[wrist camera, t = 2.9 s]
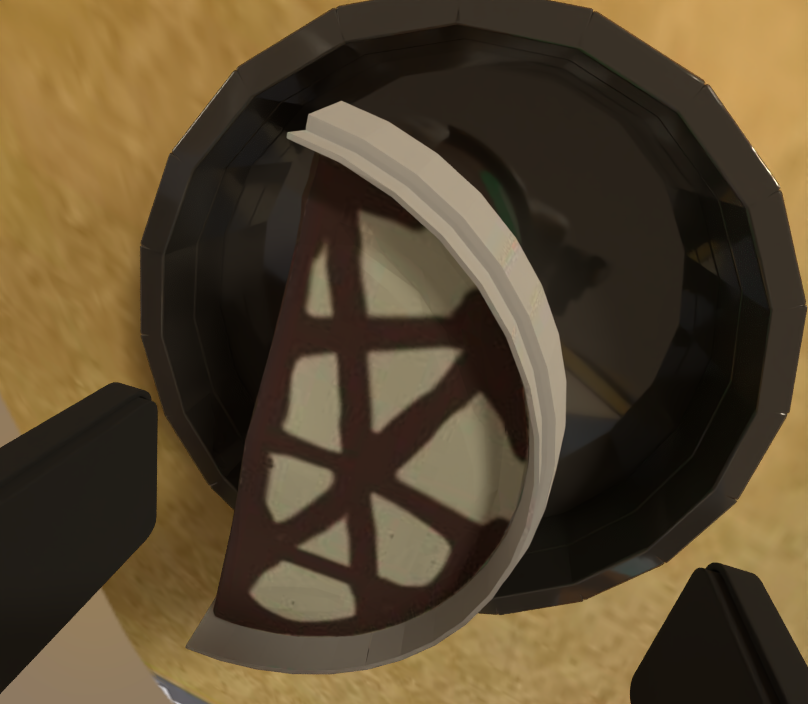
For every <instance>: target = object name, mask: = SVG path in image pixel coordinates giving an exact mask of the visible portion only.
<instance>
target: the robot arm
mask: <svg viewBox="0 0 808 704" xmlns="http://www.w3.org/2000/svg"><path fill="white" fill-rule="evenodd" d="M157 421H158V410H157V405H156V403H154V402H153V401H151V396H150V394H149V393H148V392H147V391H145V390H142V389H138V388H135V387H132V386H128V385H125V384H122V383H118V382H113V383H111V384H108V385H107V386H105V387H103V388H101V389H100V390H98V391H96V392H95V393H93V394H91V395H89V396H88V397H86V398H84V399H83V400H81V401H79V402H78V403H76V404H74V405H72V406H71V407H69V408H67V409H66V410H64V411H62V412H60V413H59V414H57V415H55V416H54V417H52V418H50V419H48V420H47V421H45V422H43V423H42V424H40V425H38V426H37V427H35V428H33V429H31V430H30V431H28V432H26V433H25V434H23V435H21V436H19V437H18V438H16V439H14V440H13V441H11V442H9V443H7V444H6V445H4V446H2V447H1V448H0V694H1V692H2V691H3V690H4V689H5V688H6V687H7V686H8V685H9V684H10V683H11V682H12V681H13V680H14V679H15V678H16V677H17V675H19V673H20V672H21V671H22V670H23V669H24V668H25V667H26V666H27V665H28V664H29V663H30V662H31V661H32V660H33V659H34V658H35V657H36V656H37V655H38V653H39V652H40V651H41V650H42V649H43V648H44V647H45V646H46V645H47V644H48V643H49V642H50V641H51V640H52V639H53V638H54V637H55V635H56V634H57V633H58V632H59V631H60V630H61V629H62V628H63V627H64V626H65V625H66V624H67V623H68V622H69V621H70V620H71V619H72V617H73V616H74V615H75V614H76V613H77V612H78V611H79V610H80V609H81V608H82V607H83V606H84V605H85V604H86V603H87V602H88V601H89V600H90V599H91V597H92V596H93V595H94V594H95V593H96V592H97V591H98V590H99V589H100V588H101V587H102V586H103V585H104V584H105V583H106V582H107V581H108V580H109V578H110V577H111V576H112V575H113V574H114V573H115V572H116V571H117V570H118V569H119V568H120V567H121V566H122V565H123V564H124V563H125V562H126V561H127V559H128V558H129V557H130V556H131V555H132V554H133V553H134V552H135V551H136V550H137V549H138V548H139V547H140V546H141V545H142V544H143V543H144V542H145V540H146V539H147V538H148V537H149V535H150V534H151V532H152V530H153V528H154V526H155V522H156V509H157ZM630 701H631V704H808V667H807V665H806V663H805V661H804V659H803V657H802V655H801V654H800V652H799V650H798V648H797V646H796V644H795V643H794V641H793V639H792V637H791V635H790V633H789V631H788V630H787V628H786V626H785V624H784V622H783V620H782V619H781V617H780V615H779V613H778V611H777V609H776V607H775V606H774V604H773V602H772V600H771V598H770V596H769V595H768V593H767V591H766V589H765V587H764V585H763V583H762V582H761V580H760V579H759V578H758V576H756V575H755V574H753V573H750V572H747V571H743V570H740V569H737V568H733V567H730V566H727V565H723V564H720V563H711V564H710V565H708V566H707V568H706V569H704V568H698V569H696V570H695V571H694V572H693V574H692V575H691V577H690V579H689V581H688V582H687V584H686V586H685V588H684V589H683V591H682V593H681V594H680V596H679V598H678V600H677V601H676V603H675V605H674V606H673V608H672V610H671V612H670V613H669V615H668V617H667V619H666V620H665V622H664V624H663V625H662V627H661V629H660V631H659V632H658V634H657V636H656V638H655V639H654V641H653V643H652V644H651V646H650V648H649V650H648V651H647V653H646V655H645V656H644V658H643V660H642V662H641V663H640V665H639V667H638V669H637V670H636V672H635V674H634V676H633V678H632V682H631V687H630Z"/></svg>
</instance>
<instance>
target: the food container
mask: <svg viewBox="0 0 808 704" xmlns="http://www.w3.org/2000/svg"><path fill="white" fill-rule="evenodd" d="M287 139H290V140H292V141H294V142H296V143H298V144H300V145H303V146H305V147H307V148H309V149H311V150H314V151H315V153H314V156H313V159H312V163H311V167H310V172H309V177H308V181H307V183H306V186H305V189H304V192H303V195H302V200H301V217H300V222H299V228H298V233H297V239H296V244H295V249H294V253H293V257H292V261H291V266H290V270H289V274H288V278H287V283H286V287H285V291H284V295H283V300H282V304H281V308H280V312H279V316H278V320H277V324H276V328H275V332H274V336H273V340H272V344H271V348H270V352H269V356H268V360H267V363H266V367H265V371H264V374H263V378H262V381H261V385H260V388H259V392H258V396H257V399H256V403H255V407H254V410H253V414H252V418H251V421H250V425H249V429H248V432H247V436H246V440H245V445H244V452H243V458H242V464H241V471H240V478H239V486H238V493H237V499H236V504H235V510H234V516H233V522H232V527H231V531H230V536H229V541H228V545H227V550H226V554H225V559H224V563H223V568H222V572H221V577H220V582H219V586H218V591H217V595H216V598H215V599H214V601H213V602H212V604H211V606H210V607H209V609H208V611H207V612H206V614H205V615H204V617H203V619H202V620H201V622H200V624H199V625H198V627H197V628H196V630H195V632H194V633H193V635H192V637H191V638H190V640H189V641H188V643H187V645H186V648H187V649H189V650H192V651H195V652H198V653H200V654H203V655H206V656H209V657H211V658H214V659H217V660H220V661H224V662H228V663H232V664H236V665H240V666H245V667H249V668H253V669H258V670H266V671H274V672H282V673H289V674H336V673H344V672H352V671H361V670H367V669H371V668H375V667H379V666H382V665H386V664H390V663H393V662H397V661H401V660H403V659H406V658H408V657H410V656H412V655H415V654H417V653H419V652H421V651H424V650H426V649H428V648H430V647H432V646H435V645H436V644H438V643H439V642H441V641H442V640H444V639H445V638H447V637H448V636H450V635H451V634H453V633H454V632H456V631H457V630H459V629H460V628H462V627H463V626H465V625H466V624H467V623H468V622H469V621H470V620H471V619H472V618H473V617H474V616H475V615H476V614H477V613H478V612H479V611H480V610H481V609H482V608H483V607H484V606H485V605H486V604H487V603H488V602H489V601H490V600H491V599H492V598H493V597H494V595H495V594H496V593H497V591H498V590H499V588H500V587H501V585H502V584H503V582H504V581H505V580H506V579H507V578H508V576H509V575H510V574H511V572H512V571H513V569H514V568H515V566H516V565H517V563H518V562H519V561H520V559H521V558H522V556H523V555H524V553H525V552H526V551H527V549H528V548H529V546H530V543H531V541H532V539H533V536H534V534H535V532H536V529H537V527H538V525H539V523H540V520H541V518H542V516H543V513H544V511H545V509H546V505H547V501H548V498H549V494H550V490H551V487H552V483H553V479H554V476H555V472H556V468H557V464H558V459H559V454H560V450H561V445H562V440H563V436H564V431H565V423H566V376H565V369H564V363H563V357H562V351H561V344H560V338H559V333H558V330H557V327H556V324H555V321H554V319H553V316H552V313H551V310H550V307H549V304H548V301H547V298H546V296H545V293H544V290H543V287H542V284H541V283H540V281H539V279H538V277H537V275H536V274H535V272H534V270H533V268H532V266H531V264H530V263H529V261H528V259H527V257H526V255H525V254H524V252H523V250H522V248H521V246H520V244H519V243H518V241H517V239H516V237H515V236H514V235H513V234H512V232H511V231H510V230H509V228H508V227H507V226H506V225H505V223H504V222H503V221H502V220H501V218H500V217H499V216H498V214H497V213H496V212H495V211H494V209H493V208H492V207H491V206H490V204H489V203H488V202H487V200H486V199H485V198H484V197H483V195H482V194H481V193H480V192H479V191H478V190H477V189H476V188H475V187H473V186H472V185H471V184H470V183H469V182H468V181H467V180H466V179H465V178H464V177H463V176H461V175H460V174H459V173H458V172H457V171H456V170H455V169H454V168H453V167H452V166H451V165H449V164H448V163H447V162H446V161H445V160H444V159H443V158H442V157H441V156H440V155H439V154H437V153H436V152H434V151H433V150H431V149H430V148H428V147H427V146H425V145H423V144H422V143H420V142H419V141H417V140H416V139H414V138H413V137H411V136H410V135H408V134H407V133H405V132H404V131H402V130H401V129H399V128H398V127H396V126H394V125H393V124H391V123H390V122H388V121H386V120H384V119H381V118H379V117H377V116H375V115H372V114H370V113H368V112H366V111H363V110H361V109H359V108H357V107H354V106H352V105H350V104H348V103H345V102H343V101H340V102H337V103H335V104H332V105H330V106H327V107H325V108H322V109H320V110H318V111H315V112H313V113H310V114H308V119H307V124H306V130H302V131H293V132H288V133H287Z"/></svg>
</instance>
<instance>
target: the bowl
mask: <svg viewBox="0 0 808 704" xmlns="http://www.w3.org/2000/svg"><path fill="white" fill-rule="evenodd" d="M340 101H343V102H345V103H348V104H350V105H352V106H354V107H357V108H359V109H361V110H363V111H366V112H368V113H370V114H372V115H375V116H377V117H379V118H381V119H384V120H386V121H388V122H390V123H391V124H393V125H394V126H396V127H398V128H399V129H401V130H402V131H404V132H405V133H407V134H408V135H410V136H411V137H413V138H414V139H416V140H417V141H419V142H420V143H422V144H423V145H425V146H427V147H428V148H430V149H431V150H433V151H434V152H436V153H437V154H439V155H440V156H441V157H442V158H443V159H444V160H445V161H446V162H447V163H448V164H449V165H451V166H452V167H453V168H454V169H455V170H456V171H457V172H458V173H459V174H460V175H461V176H463V177H464V178H465V179H466V180H467V181H468V182H469V183H470V184H471V185H472V186H473V187H475V188H476V189H477V190H478V191H479V192H480V193H481V194H482V195H483V197H484V198H485V199H486V200H487V202H488V203H489V204H490V206H491V207H492V208H493V209H494V211H495V212H496V213H497V214H498V216H499V217H500V218H501V220H502V221H503V222H504V223H505V225H506V226H507V227H508V228H509V230H510V231H511V232H512V234H513V235H514V236H515V237H516V239H517V241H518V243H519V244H520V246H521V248H522V250H523V252H524V254H525V255H526V257H527V259H528V261H529V263H530V264H531V266H532V268H533V270H534V272H535V274H536V275H537V277H538V279H539V281H540V283H541V284H542V287H543V290H544V293H545V296H546V298H547V301H548V304H549V307H550V310H551V313H552V316H553V319H554V321H555V324H556V327H557V330H558V333H559V338H560V344H561V351H562V357H563V363H564V369H565V376H566V423H565V431H564V436H563V440H562V445H561V450H560V454H559V459H558V464H557V468H556V472H555V476H554V479H553V483H552V487H551V490H550V494H549V498H548V501H547V505H546V509H545V511H544V513H543V516H542V518H541V520H540V523H539V525H538V527H537V529H536V532H535V534H534V536H533V539H532V541H531V543H530V546H529V548H528V549H527V551H526V552H525V553H524V555H523V556H522V558H521V559H520V561H519V562H518V563H517V565H516V566H515V568H514V569H513V571H512V572H511V574H510V575H509V576H508V578H507V579H506V580H505V581H504V582H503V584H502V585H501V587H500V588H499V590H498V591H497V593H496V594H495V595H494V597H493V598H492V599H491V600H490V601H489V602H488V603H487V604H486V605H485V606H484V607H483V608H482V609H481V610H480V611H479V612H478V613H480V614H493V615H497V614H499V615H504V614H510V613H516V612H522V611H528V610H534V609H540V608H546V607H552V606H558V605H564V604H570V603H576V602H582V601H583V599H584V600H586V599H588V598H591V597H593V596H595V595H597V594H599V593H602V592H604V591H606V590H608V589H610V588H613V587H615V586H617V585H619V584H621V583H624V582H626V581H628V580H630V579H632V578H635V577H637V576H639V575H641V574H644V573H646V572H648V571H650V570H652V569H655V568H657V567H659V566H661V565H663V564H664V562H665V563H667V562H669V561H670V560H671V559H672V558H673V557H674V556H675V555H677V554H678V553H679V552H680V551H681V550H682V549H683V548H685V547H686V546H687V545H688V544H689V543H690V542H692V541H693V540H694V539H695V538H696V537H697V536H698V535H700V534H701V533H702V532H703V531H704V530H705V529H706V528H708V527H709V526H710V525H711V524H712V523H713V522H714V521H716V520H717V519H718V518H719V517H720V516H721V515H723V514H724V513H725V512H726V511H727V510H728V509H729V508H731V507H732V506H733V505H734V504H735V503H736V502H737V501H736V500H738V499H739V497H740V496H741V494H742V492H743V491H744V489H745V487H746V485H747V484H748V482H749V480H750V479H751V477H752V475H753V473H754V472H755V470H756V468H757V467H758V465H759V463H760V461H761V460H762V458H763V456H764V455H765V453H766V451H767V450H768V448H769V446H770V444H771V443H772V441H773V439H774V438H775V436H776V434H777V432H778V431H779V429H780V427H781V426H782V424H783V422H784V420H785V419H786V417H787V413H789V412H790V406H791V400H792V395H793V389H794V383H795V377H796V371H797V365H798V359H799V353H800V348H801V342H802V336H803V330H804V324H805V318H806V312H807V305H805V304H806V299H805V294H804V290H803V285H802V281H801V276H800V272H799V267H798V263H797V258H796V254H795V249H794V244H793V240H792V235H791V231H790V226H789V222H788V217H787V213H786V208H785V204H784V199H783V195H782V192H781V190H779V189H780V185H779V184H778V182H777V181H776V179H775V178H774V177H773V175H772V174H771V172H770V171H769V169H768V168H767V167H766V165H765V164H764V162H763V161H762V159H761V158H760V157H759V155H758V154H757V152H756V151H755V149H754V148H753V147H752V145H751V144H750V142H749V141H748V139H747V138H746V137H745V135H744V134H743V132H742V131H741V129H740V128H739V127H738V125H737V124H736V122H735V121H734V119H733V118H732V116H731V115H730V114H729V112H728V111H727V109H726V108H725V106H724V105H723V104H722V102H721V101H720V99H719V98H718V96H717V95H716V94H715V92H714V91H713V89H712V88H711V86H710V85H708V84H705V82H704V80H703V79H701V78H700V77H698V76H697V75H695V74H694V73H692V72H690V71H689V70H687V69H686V68H684V67H683V66H681V65H680V64H678V63H676V62H675V61H673V60H672V59H670V58H669V57H667V56H666V55H664V54H662V53H661V52H659V51H658V50H656V49H655V48H653V47H652V46H650V45H648V44H647V43H645V42H644V41H642V40H641V39H639V38H638V37H636V36H635V35H633V34H631V33H630V32H628V31H627V30H625V29H624V28H622V27H621V26H619V25H617V24H616V23H614V22H613V21H611V20H610V19H608V18H607V17H605V16H603V15H602V14H600V13H599V12H597V11H594V12H593V9H592V8H587V7H582V6H577V5H572V4H567V3H562V2H556V1H551V0H368V1H363V2H357V3H352V4H346V5H341V6H338V7H337V8H332V9H331V10H329V11H327V12H326V13H324V14H323V15H321V16H319V17H318V18H316V19H314V20H313V21H311V22H309V23H308V24H306V25H305V26H303V27H301V28H300V29H298V30H296V31H295V32H293V33H292V34H290V35H288V36H287V37H285V38H283V39H282V40H280V41H279V42H277V43H275V44H274V45H272V46H270V47H269V48H267V49H266V50H264V51H262V52H261V53H259V54H257V55H256V56H254V57H253V58H251V59H249V60H248V61H246V62H244V63H243V64H241V65H240V66H238V67H237V70H235V71H233V72H232V74H231V75H230V76H229V78H228V79H227V80H226V82H225V83H224V84H223V85H222V87H221V88H220V89H219V91H218V92H217V93H216V94H215V96H214V97H213V98H212V100H211V101H210V102H209V103H208V105H207V106H206V107H205V109H204V110H203V111H202V113H201V114H200V115H199V116H198V118H197V119H196V120H195V122H194V123H193V124H192V125H191V127H190V128H189V129H188V131H187V132H186V133H185V135H184V136H183V137H182V138H181V140H180V141H179V142H178V144H177V145H176V146H175V147H174V149H173V150H172V153H170V154H169V157H168V160H167V163H166V166H165V169H164V172H163V175H162V179H161V182H160V185H159V188H158V191H157V194H156V197H155V200H154V203H153V206H152V209H151V212H150V215H149V219H148V222H147V225H146V228H145V231H144V234H143V237H142V240H141V246H140V301H141V334H142V335H141V339H142V342H143V345H144V348H145V352H146V355H147V358H148V362H149V365H150V368H151V371H152V375H153V378H154V381H155V385H156V388H157V391H158V394H159V398H160V401H161V404H162V408H163V411H164V414H165V416H167V417H166V418H167V420H168V421H169V423H170V425H171V426H172V428H173V429H174V431H175V432H176V434H177V436H178V437H179V439H180V440H181V442H182V444H183V445H184V447H185V448H186V450H187V452H188V453H189V455H190V456H191V458H192V460H193V461H194V463H195V464H196V466H197V468H198V469H199V471H200V472H201V474H202V476H203V477H204V479H205V480H206V482H207V484H208V485H209V486H211V488H212V489H213V490H214V491H215V492H216V493H217V494H218V495H219V496H220V497H221V498H222V499H223V500H224V501H225V502H226V503H227V504H228V505H229V506H230V507H231V508H232V509H233V510H235V504H236V499H237V493H238V486H239V478H240V471H241V464H242V458H243V452H244V445H245V440H246V436H247V432H248V429H249V425H250V421H251V418H252V414H253V410H254V407H255V403H256V399H257V396H258V392H259V388H260V385H261V381H262V378H263V374H264V371H265V367H266V363H267V360H268V356H269V352H270V348H271V344H272V340H273V336H274V332H275V328H276V324H277V320H278V316H279V312H280V308H281V304H282V300H283V295H284V291H285V287H286V283H287V278H288V274H289V270H290V266H291V261H292V257H293V253H294V249H295V244H296V239H297V233H298V228H299V222H300V217H301V200H302V195H303V192H304V189H305V186H306V183H307V181H308V177H309V172H310V167H311V163H312V159H313V156H314V153H315V151H314V150H311V149H309V148H307V147H305V146H303V145H300V144H298V143H296V142H294V141H292V140H290V139H287V133H288V132H293V131H302V130H306V124H307V119H308V114H310V113H313V112H315V111H318V110H320V109H322V108H325V107H327V106H330V105H332V104H335V103H337V102H340Z"/></svg>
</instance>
